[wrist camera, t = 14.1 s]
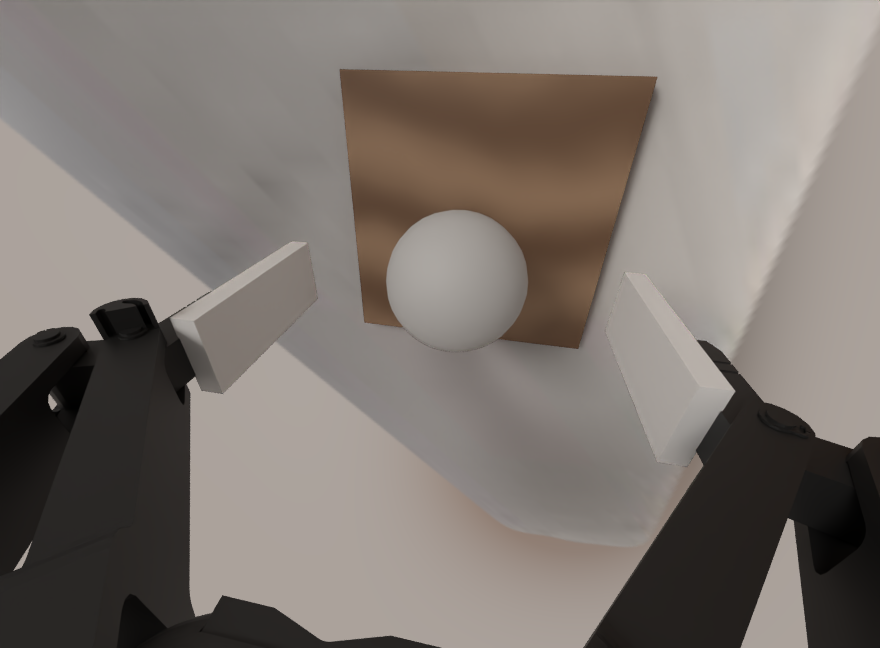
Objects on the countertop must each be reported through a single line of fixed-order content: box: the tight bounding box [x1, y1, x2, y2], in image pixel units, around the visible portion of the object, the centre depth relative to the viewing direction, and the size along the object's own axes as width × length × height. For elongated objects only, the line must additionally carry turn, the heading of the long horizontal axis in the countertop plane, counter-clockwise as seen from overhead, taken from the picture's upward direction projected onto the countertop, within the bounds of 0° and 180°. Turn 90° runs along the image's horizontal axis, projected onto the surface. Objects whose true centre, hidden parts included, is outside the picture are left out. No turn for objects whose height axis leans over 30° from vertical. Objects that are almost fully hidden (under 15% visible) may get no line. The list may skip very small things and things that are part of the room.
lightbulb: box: [386, 210, 528, 352], centre depth 18 cm, size 6×6×11 cm
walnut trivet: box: [340, 69, 657, 349], centre depth 23 cm, size 16×16×1 cm
